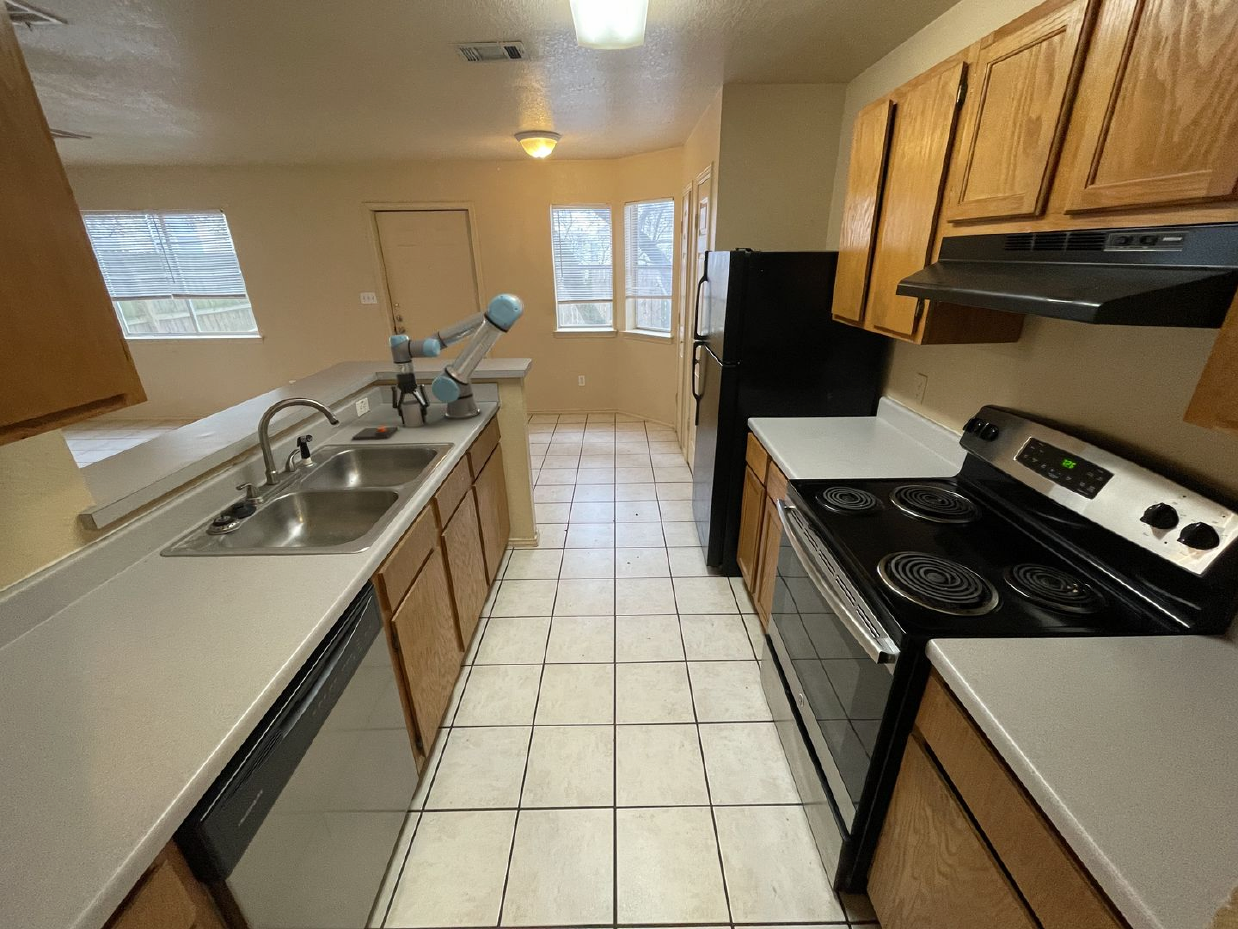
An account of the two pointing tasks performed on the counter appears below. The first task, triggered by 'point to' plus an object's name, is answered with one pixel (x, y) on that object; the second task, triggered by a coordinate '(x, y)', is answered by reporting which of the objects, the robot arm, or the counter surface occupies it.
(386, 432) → the scale
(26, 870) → the counter surface
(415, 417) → the cup
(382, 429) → the tare button
